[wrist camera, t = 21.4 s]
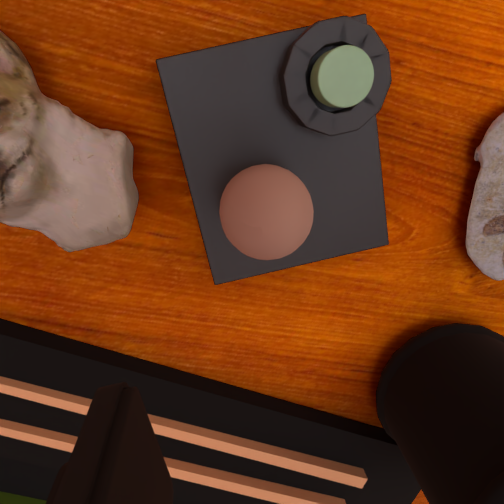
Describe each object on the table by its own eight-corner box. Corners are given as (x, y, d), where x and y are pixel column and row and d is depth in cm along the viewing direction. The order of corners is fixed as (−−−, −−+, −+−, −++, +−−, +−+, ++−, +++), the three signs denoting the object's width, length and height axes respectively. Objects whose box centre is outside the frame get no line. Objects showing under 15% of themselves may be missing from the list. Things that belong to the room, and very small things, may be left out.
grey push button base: (158, 62, 25) (151, 56, 22) (362, 17, 25) (385, 5, 22) (214, 274, 30) (215, 296, 27) (384, 234, 30) (406, 251, 27)
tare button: (305, 55, 23) (313, 51, 21) (359, 43, 23) (371, 39, 21) (314, 112, 24) (322, 113, 22) (365, 101, 24) (377, 101, 22)
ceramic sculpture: (72, 335, 21) (-267, 180, 18) (116, 273, 29) (-109, 161, 26) (173, 139, 18) (-201, -78, 15) (190, 133, 26) (-50, -8, 23)
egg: (277, 250, 28) (298, 295, 21) (204, 219, 27) (204, 257, 20) (313, 179, 26) (348, 204, 20) (239, 143, 25) (250, 157, 19)
